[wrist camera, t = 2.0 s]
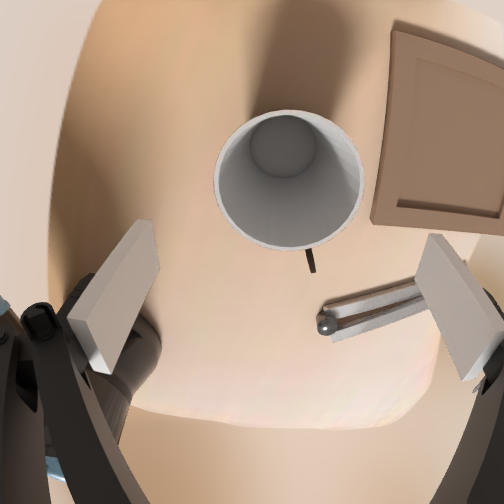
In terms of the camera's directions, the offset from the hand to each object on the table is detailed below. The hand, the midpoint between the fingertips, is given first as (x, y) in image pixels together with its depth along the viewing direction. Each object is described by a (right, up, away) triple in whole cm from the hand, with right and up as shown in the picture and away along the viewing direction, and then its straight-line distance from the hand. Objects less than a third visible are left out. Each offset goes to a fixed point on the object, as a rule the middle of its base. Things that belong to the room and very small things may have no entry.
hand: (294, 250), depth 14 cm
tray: (+19, +10, +10) cm, 23 cm away
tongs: (+15, -6, +20) cm, 26 cm away
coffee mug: (+1, +8, +13) cm, 15 cm away
